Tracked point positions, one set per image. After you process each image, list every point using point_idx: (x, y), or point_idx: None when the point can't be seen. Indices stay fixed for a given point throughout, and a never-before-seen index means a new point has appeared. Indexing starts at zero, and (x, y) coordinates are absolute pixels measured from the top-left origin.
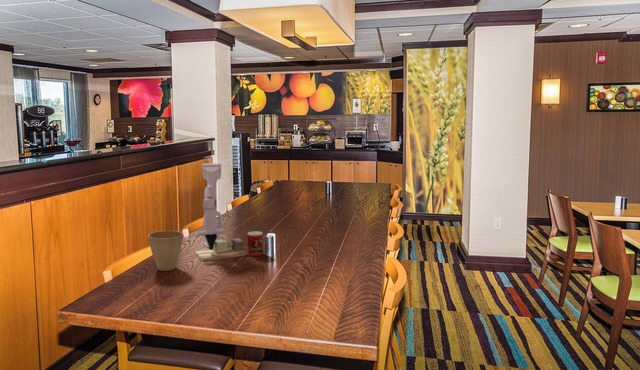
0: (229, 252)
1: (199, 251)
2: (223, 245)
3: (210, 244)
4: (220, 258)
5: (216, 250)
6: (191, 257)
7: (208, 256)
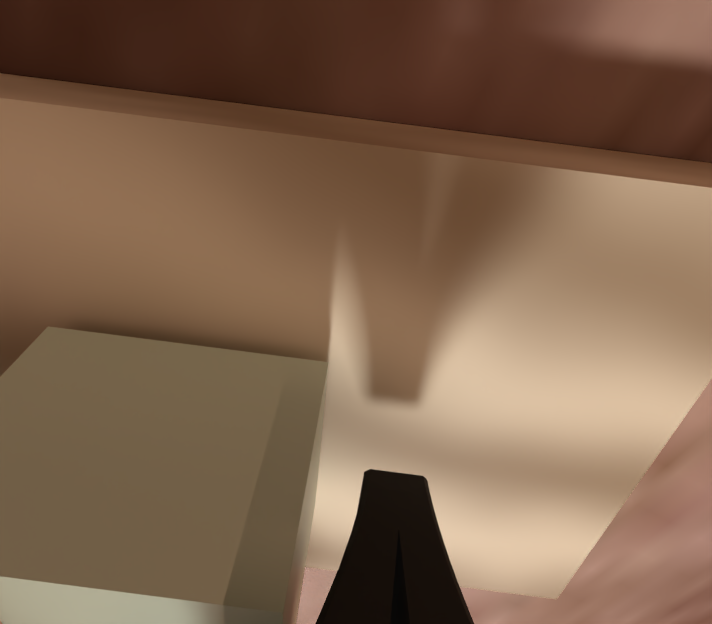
0: (24, 284)
1: (511, 564)
2: (65, 464)
3: (445, 610)
4: (311, 114)
5: (307, 400)
6: (699, 473)
7: (585, 258)
